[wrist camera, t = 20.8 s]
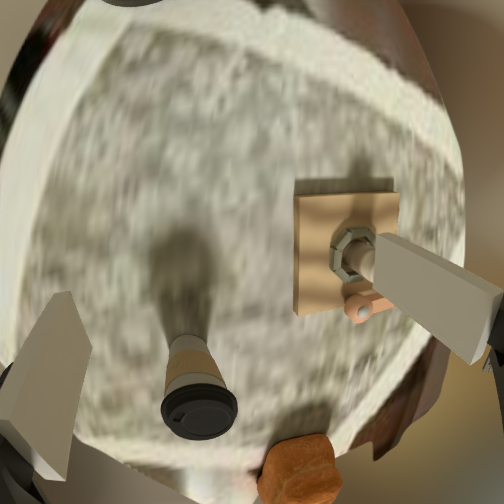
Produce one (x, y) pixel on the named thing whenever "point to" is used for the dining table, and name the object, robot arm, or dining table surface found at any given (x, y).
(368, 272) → the leg peg
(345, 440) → the dining table surface
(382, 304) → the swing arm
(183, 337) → the coffee cup
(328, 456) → the bread
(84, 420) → the dining table surface
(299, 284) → the stool seat
